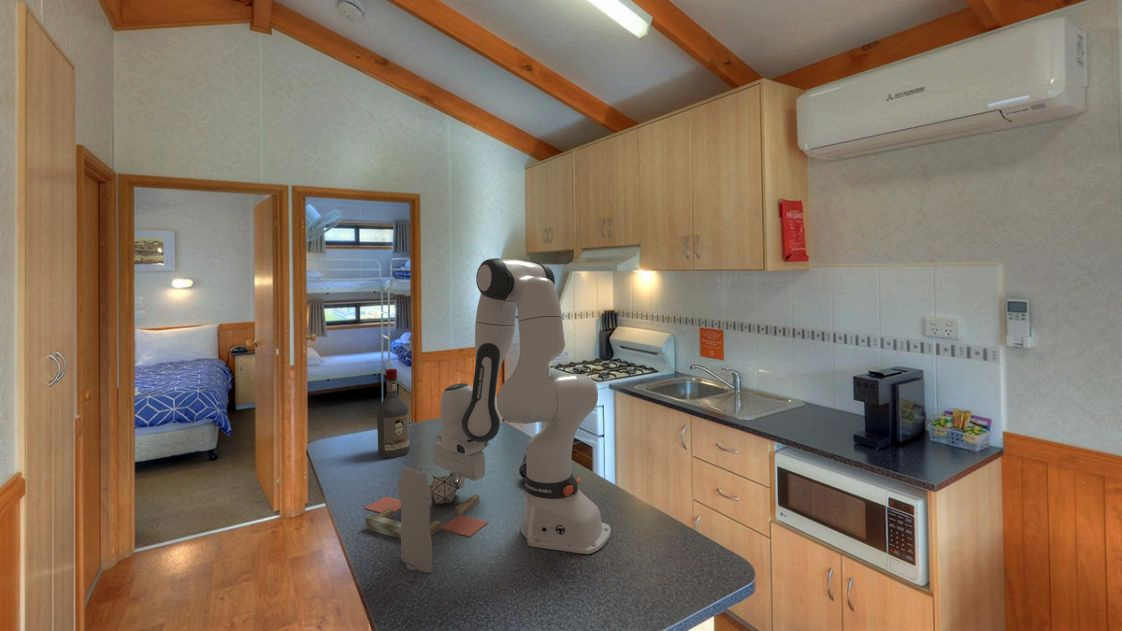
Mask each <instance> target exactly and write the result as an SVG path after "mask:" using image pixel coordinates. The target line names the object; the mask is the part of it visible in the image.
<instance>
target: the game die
mask: <svg viewBox="0 0 1122 631" xmlns="http://www.w3.org/2000/svg"><path fill="white" fill-rule="evenodd" d="M451 476H452V473H451V474H450V473H449V475H445V476H437V477H435V474H434V475H432V478H433V481H432V484H431V485H432V486H431V493H432V500H433V501H434V503H435V504H434V508H436V507H437V506H438V505H440V504H441V505H443V504H449V503H451V504H452V505H455V502H454V499H455V496H456V493H457V490H460V489H461V488H459V487H456V485H455V483H454V481H453V479H452V477H451Z"/></svg>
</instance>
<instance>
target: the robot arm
mask: <svg viewBox="0 0 1122 631" xmlns="http://www.w3.org/2000/svg"><path fill="white" fill-rule="evenodd" d="M475 280H476V281H475V282H476V286H477V289H478V291H479V292H480V295H479V299H478V304H477V308H476V316H475V324H474V325H475V326H474V346H475V347H474V348H475V349H474V350H475V357H474V358H475V365H474V366H475V367H474V376H473V383H472V384H473V385H472V386H471V385H470V384H469V383H465V382H464V383H455V384H452V385H449V386H448V387H446V388H445V389H444V390H443V391H442V393H441V398H440V399H441V400H440V418H441V422H442V423H441V424H442V426H441V428H440V429H441V430H440V433H439V434H437V435H435V436H436V437H435V438H434V443H433V449H432V462H433V464H434V466H437V467H439V468H441V469H444V470H446V471H449V475H450V474H451V473H452V476H451V477H452V479H453V481H454V483H455V485H456V487H459V488H460V489H463V488H464V487H465V486H464V485H465V484H464V483H465V480H466V479H468V480H470V481H473V482H477V481H479V480H481V479H483V478H484V477H485V475H486V459H485V458H486V457H485V453H484V450H485V445H486V444H484V443H483V442H486V443H488V442H489V441H491V440H493V439H494V438H495V437H497V435H498V433H499V430H500V426H501V424H502V422H503V420H504V421H506V422H507V423H512V424H523V425H526V424H535V423H541V422H544V423H545V424H544V426H543V427H542V429H541V430H540V431H539V432H538V433H536V434H535V435H533V436H532V437H531V438H530V439H529V440H528V443H527V446H526V452H525V453H526V454H527V473H526V474H525V483H524V492H525V506H524V512H523V517H522V518H523V519H522V522H521V525H520V533H521V535H523V537H524V538H525V539H526V544H527V545H528V546H529V547H532V548H540V549H547V550H553V551H554V550H555V551H562V552H568V553H576V554H581V555H582V554H585V555H590V554H593V553H595V552H597V551H599V550H600V549H601V548H602V547H604V546H605V545H606V544H607V542H608V541H609V540H610V538H611V534H612V532H611V527H610V525H609V524H607V523H605V522H602V517H601V511H600V509H599V507H598V505H596V504H595V503H594V502H593V501H591V499H590V498H588V497H587V496H586V495H585V494H583V492H582V491H580V490H579V489H578V484H580V483H581V477H580V476H579V477H578V478H575V477H574V474H573V473H572V455H573V454H572V452H573V444H574V439H575V436H576V434H577V433H578V430H579V428H580V426H581V424H582V423H583V422H584V420H585V419H586V418H587V417H588V415H589V414H591V413H593V411H594V410H595V408H596V406H597V404H598V400H599V390H598V387H597V385H596V383H595V381H594V380H593V379H592V377H590V376H589V375H585V374H578V373H564V374H563V373H561V374H552V375H547V369H548V366H549V364H550V363H551V362H552V361H554V360H556V359H557V358H558V357H559V356H561V355H562V353H563V352H564V350H565V347H566V346H565V345H566V342H565V333H564V324H563V316H562V308H561V304H560V299H559V296H558V292H557V288H556V286H555V285H556V284H555V280H556V278H555V275H554V272H553V270H552V269H551V268H550V267H549V266H547V265H545V264H542V263H539V262H531V261H526V260H521V259H519V258H518V259H517V258H498V257H496V258H495V257H494V258H489V259H485V260H484V261H483V262H481V263H480V265H479V266H478V268H477V272H476V279H475ZM516 313H517V322H518V324H517V325H518V331H519V336H518V337H519V356H518V361H517V364H516V367H515V368H514V370H513V372H512V373H511V375H510V377H509V378H508V379H507V380H505V382H504V383H502V385H501V386H500V388H499V389H498V393H497V388H498V387H497V386H498V378H499V373H500V369H501V366H502V364H503V362H504V359H506V356H507V355H508V352H509V351H510V348H511V346H512V342H513V339H514V334H515V328H516ZM526 454H525V455H526Z"/></svg>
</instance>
